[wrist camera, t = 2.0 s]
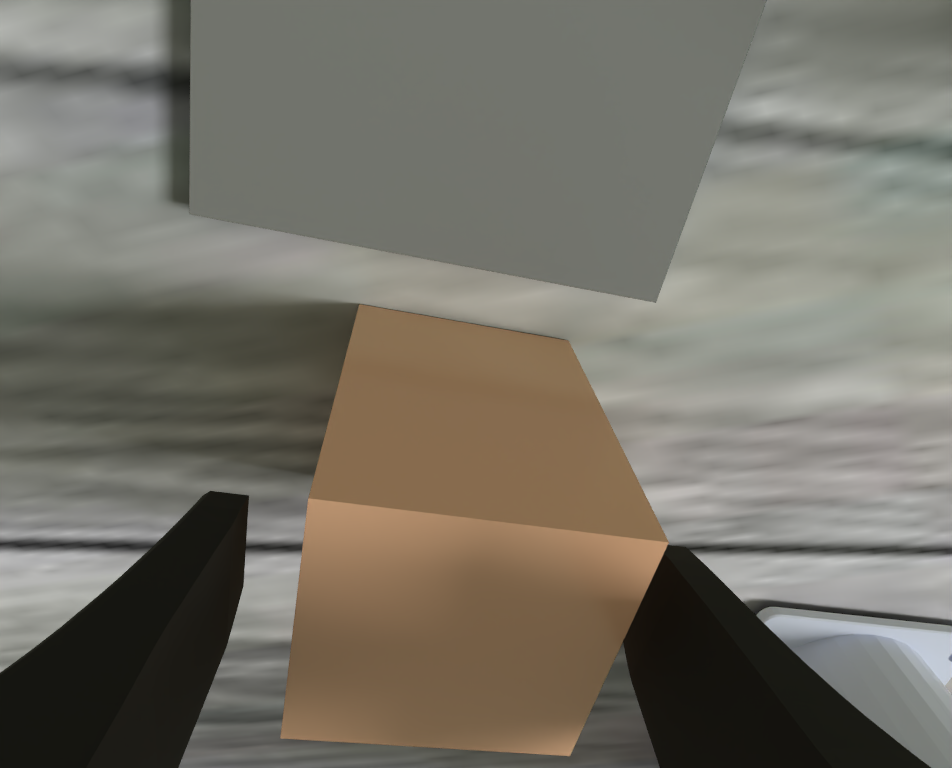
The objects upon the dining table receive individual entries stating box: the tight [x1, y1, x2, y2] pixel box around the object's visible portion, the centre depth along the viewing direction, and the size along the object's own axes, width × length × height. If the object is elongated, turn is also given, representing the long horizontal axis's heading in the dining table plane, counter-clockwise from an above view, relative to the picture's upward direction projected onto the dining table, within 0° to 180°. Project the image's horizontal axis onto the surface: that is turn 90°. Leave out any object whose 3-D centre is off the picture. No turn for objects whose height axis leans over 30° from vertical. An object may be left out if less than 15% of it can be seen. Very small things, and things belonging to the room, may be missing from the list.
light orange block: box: [281, 304, 669, 756], centre depth 13 cm, size 5×5×7 cm
